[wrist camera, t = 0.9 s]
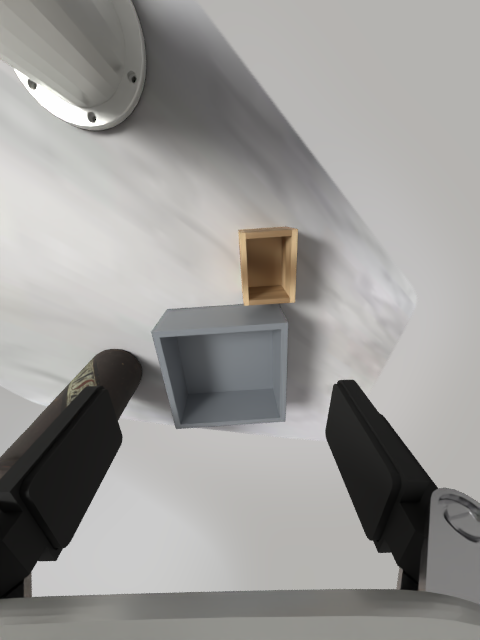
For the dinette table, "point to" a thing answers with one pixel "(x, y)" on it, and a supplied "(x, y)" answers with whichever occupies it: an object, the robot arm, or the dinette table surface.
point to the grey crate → (224, 364)
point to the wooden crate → (268, 265)
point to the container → (103, 370)
